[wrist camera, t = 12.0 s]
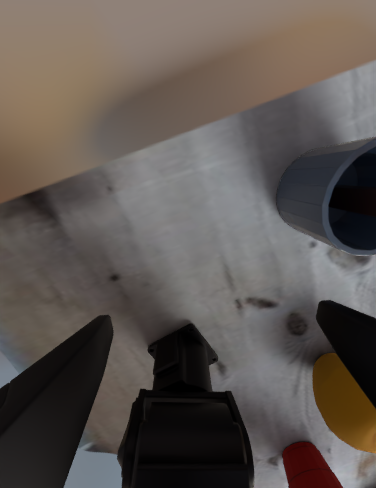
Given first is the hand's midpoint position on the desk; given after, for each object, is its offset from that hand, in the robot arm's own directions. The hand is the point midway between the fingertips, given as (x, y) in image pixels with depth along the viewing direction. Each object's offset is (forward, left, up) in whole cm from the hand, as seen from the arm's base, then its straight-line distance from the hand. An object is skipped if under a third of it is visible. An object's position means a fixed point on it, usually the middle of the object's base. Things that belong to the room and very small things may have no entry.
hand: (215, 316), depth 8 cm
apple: (-24, -6, -12) cm, 28 cm away
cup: (-3, -12, -12) cm, 17 cm away
